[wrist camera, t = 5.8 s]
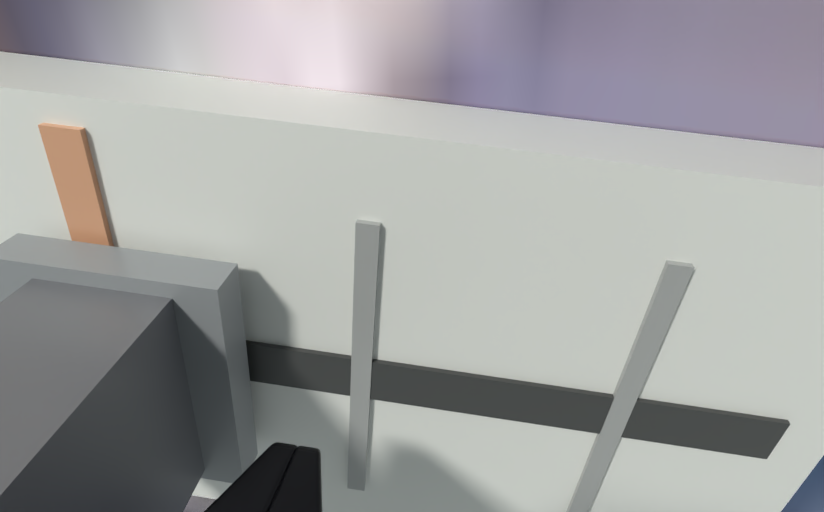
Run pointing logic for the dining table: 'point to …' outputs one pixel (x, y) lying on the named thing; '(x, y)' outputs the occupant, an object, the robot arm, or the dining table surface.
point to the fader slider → (118, 377)
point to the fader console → (462, 282)
